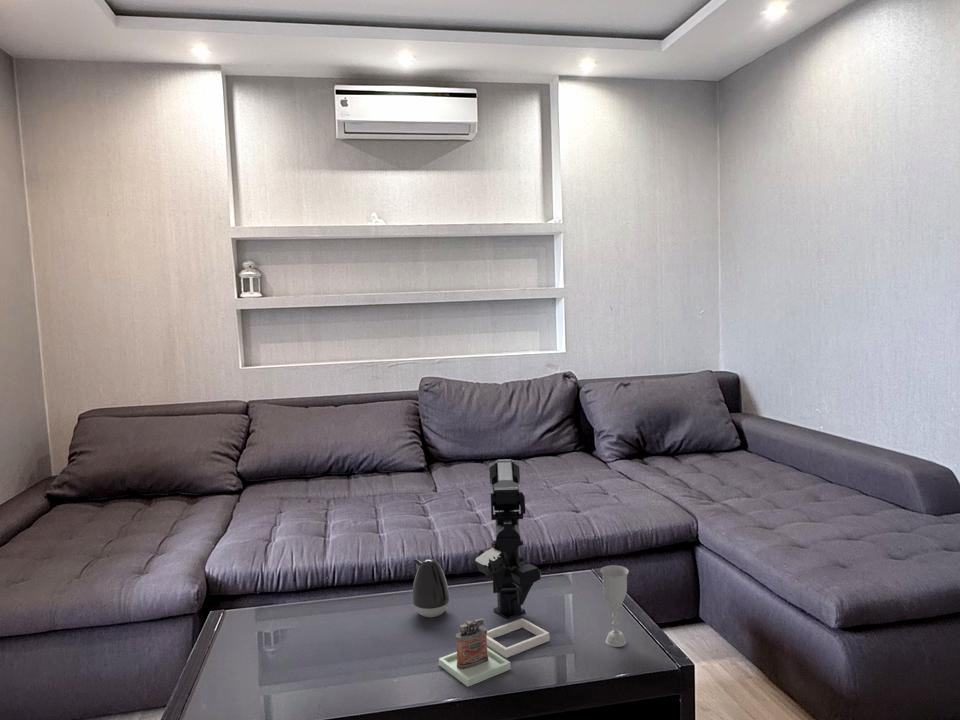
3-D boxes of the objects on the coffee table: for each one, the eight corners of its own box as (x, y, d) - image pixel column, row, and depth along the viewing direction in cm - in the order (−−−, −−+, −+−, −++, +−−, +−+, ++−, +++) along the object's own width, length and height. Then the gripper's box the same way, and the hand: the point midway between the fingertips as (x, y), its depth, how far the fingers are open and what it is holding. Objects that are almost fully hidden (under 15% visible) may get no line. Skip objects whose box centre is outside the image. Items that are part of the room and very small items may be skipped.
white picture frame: (480, 641, 176) (480, 633, 176) (522, 625, 184) (522, 618, 184) (506, 658, 168) (505, 649, 167) (549, 640, 175) (549, 632, 175)
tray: (438, 665, 165) (438, 658, 165) (480, 649, 172) (480, 642, 172) (467, 686, 156) (467, 679, 156) (510, 669, 163) (510, 662, 162)
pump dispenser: (428, 602, 200) (426, 550, 199) (457, 610, 194) (455, 556, 193) (404, 615, 192) (401, 561, 191) (433, 624, 186) (431, 569, 185)
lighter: (461, 671, 161) (459, 629, 160) (454, 665, 164) (452, 623, 163) (491, 660, 165) (489, 619, 165) (483, 655, 168) (482, 614, 167)
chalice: (630, 650, 169) (628, 577, 168) (601, 648, 171) (599, 576, 169) (629, 635, 177) (628, 565, 175) (602, 634, 178) (600, 564, 176)
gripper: (459, 533, 175) (461, 593, 177) (502, 556, 160) (505, 622, 162) (496, 524, 181) (498, 582, 183) (541, 545, 166) (543, 608, 168)
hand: (509, 598), depth 174 cm, fingers open, 9 cm apart
